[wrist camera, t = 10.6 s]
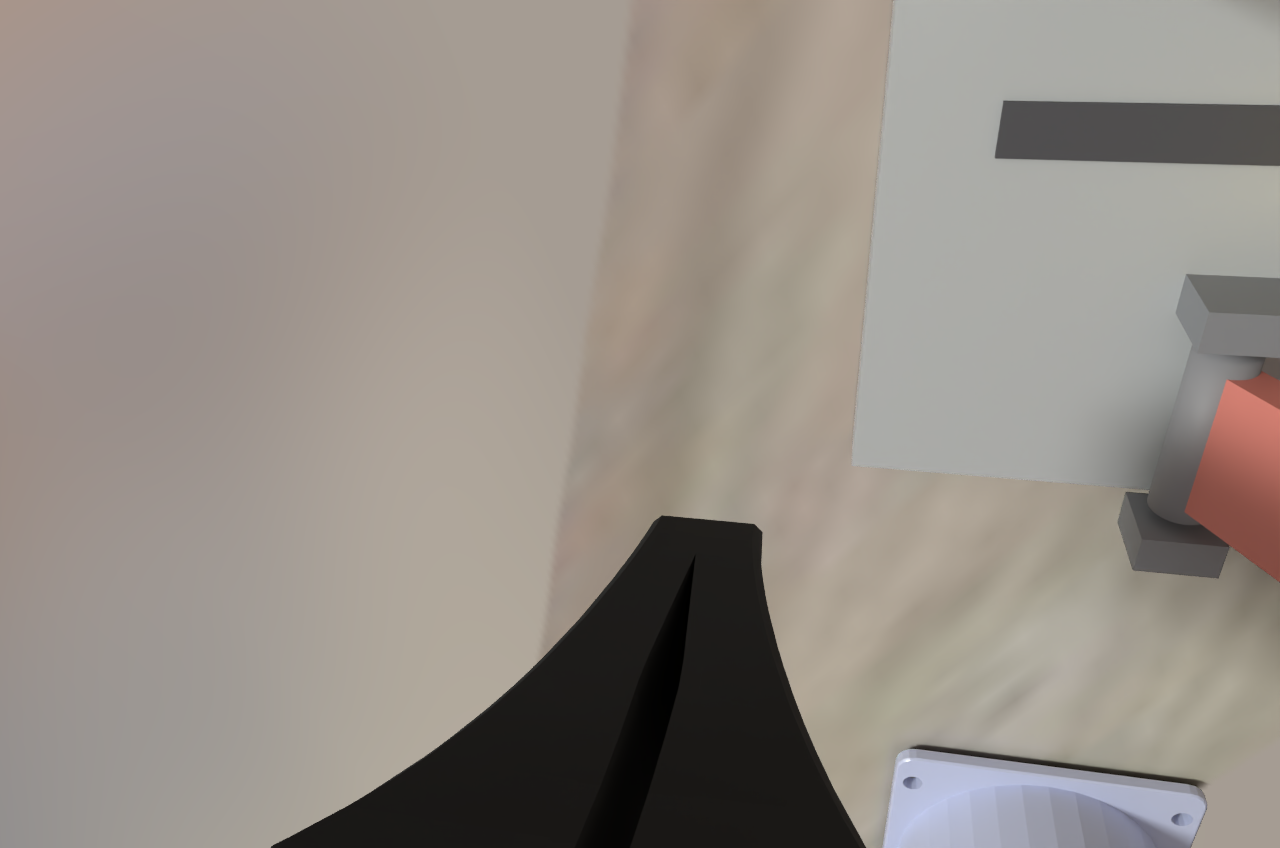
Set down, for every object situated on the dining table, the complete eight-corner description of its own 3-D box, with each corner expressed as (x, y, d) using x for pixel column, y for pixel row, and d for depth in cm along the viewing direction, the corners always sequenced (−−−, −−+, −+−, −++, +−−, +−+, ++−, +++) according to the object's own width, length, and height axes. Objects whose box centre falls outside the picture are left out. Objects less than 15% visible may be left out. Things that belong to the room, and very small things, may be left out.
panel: (1368, 510, 22) (1425, 598, 20) (849, 467, 24) (846, 543, 22) (1751, -357, 14) (1925, -382, 12) (922, -312, 16) (930, -325, 14)
